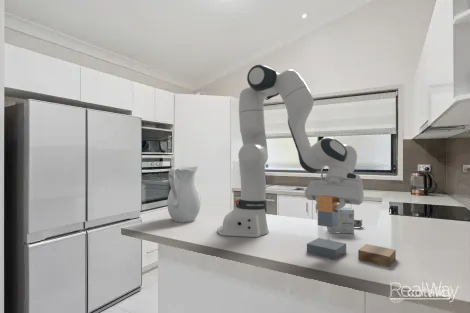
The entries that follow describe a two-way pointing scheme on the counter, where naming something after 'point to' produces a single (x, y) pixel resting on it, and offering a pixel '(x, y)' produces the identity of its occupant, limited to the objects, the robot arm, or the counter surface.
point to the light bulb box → (344, 221)
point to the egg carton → (357, 223)
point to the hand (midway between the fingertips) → (327, 209)
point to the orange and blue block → (327, 211)
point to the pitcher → (183, 194)
